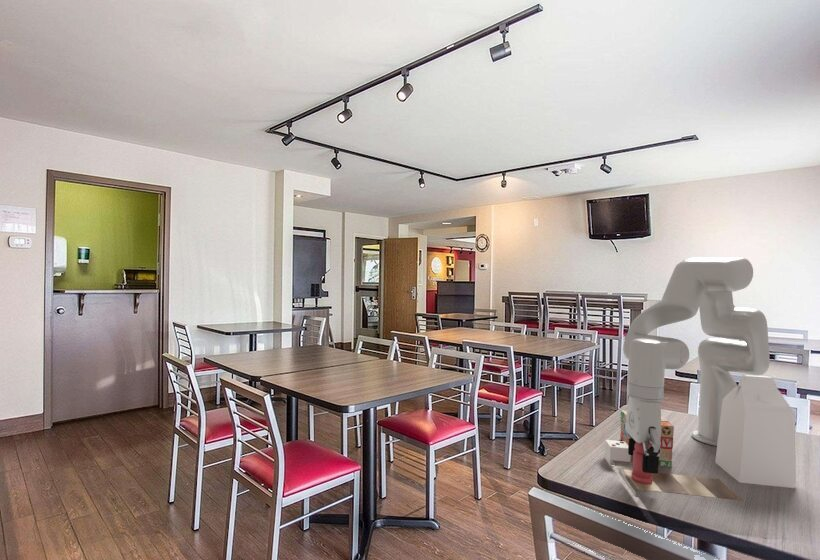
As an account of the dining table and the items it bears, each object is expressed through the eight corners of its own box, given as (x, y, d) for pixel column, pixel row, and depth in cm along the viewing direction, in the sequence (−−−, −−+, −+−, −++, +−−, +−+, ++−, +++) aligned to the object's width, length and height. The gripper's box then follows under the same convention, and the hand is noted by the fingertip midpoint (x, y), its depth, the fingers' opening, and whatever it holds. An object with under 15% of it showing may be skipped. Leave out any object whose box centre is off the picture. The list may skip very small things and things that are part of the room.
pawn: (648, 476, 107) (649, 437, 106) (655, 485, 102) (656, 444, 102) (628, 474, 107) (630, 436, 107) (635, 483, 103) (636, 442, 103)
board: (719, 483, 108) (719, 477, 108) (748, 508, 96) (749, 502, 96) (619, 473, 111) (619, 467, 111) (635, 496, 99) (635, 490, 99)
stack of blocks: (619, 440, 135) (621, 400, 135) (641, 442, 134) (643, 401, 134) (646, 470, 114) (648, 423, 113) (672, 473, 113) (674, 425, 112)
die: (624, 459, 120) (624, 441, 120) (630, 467, 115) (630, 448, 115) (604, 457, 121) (605, 439, 121) (609, 465, 116) (610, 446, 116)
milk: (765, 472, 115) (770, 372, 114) (796, 494, 103) (801, 383, 103) (714, 467, 117) (719, 369, 116) (739, 488, 105) (744, 379, 105)
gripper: (617, 381, 114) (614, 448, 114) (641, 400, 97) (638, 478, 97) (648, 384, 112) (645, 450, 113) (678, 403, 95) (675, 482, 96)
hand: (642, 463), depth 105 cm, fingers open, 9 cm apart
